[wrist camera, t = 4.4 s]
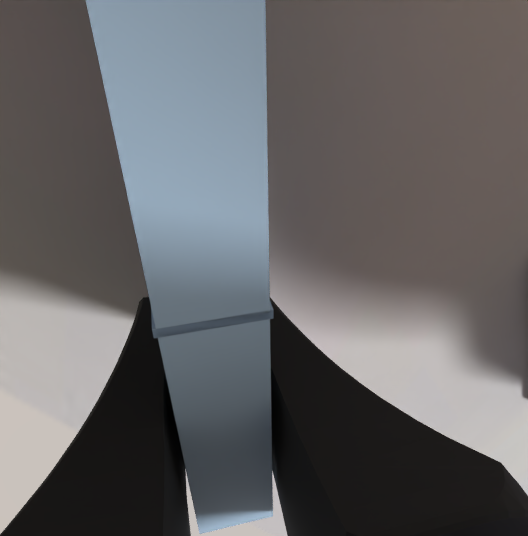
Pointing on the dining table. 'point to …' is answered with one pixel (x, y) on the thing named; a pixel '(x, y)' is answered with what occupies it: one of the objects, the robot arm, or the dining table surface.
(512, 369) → the dining table surface
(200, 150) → the blue-grey rectangular box
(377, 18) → the dining table surface
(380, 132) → the dining table surface
